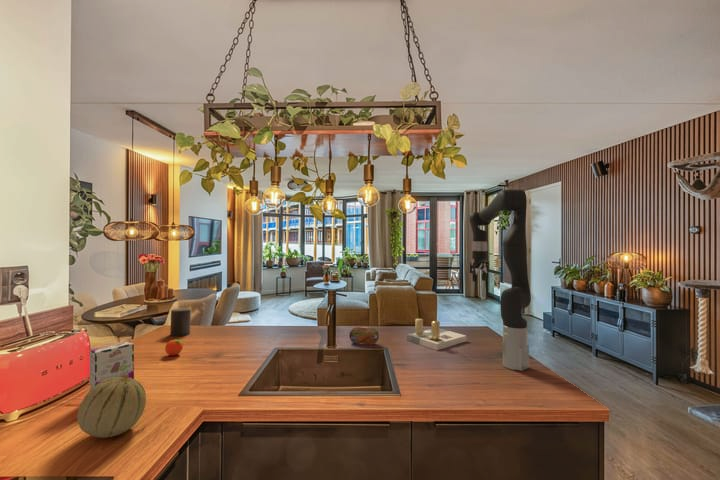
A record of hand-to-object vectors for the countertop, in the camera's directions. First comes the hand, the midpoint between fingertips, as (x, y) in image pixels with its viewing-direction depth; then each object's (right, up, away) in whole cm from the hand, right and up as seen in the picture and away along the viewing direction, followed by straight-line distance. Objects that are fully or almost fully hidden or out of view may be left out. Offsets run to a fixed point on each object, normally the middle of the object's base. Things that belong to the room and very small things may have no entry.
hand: (479, 281), depth 172 cm
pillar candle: (-162, -31, +10) cm, 165 cm away
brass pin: (-25, -32, -6) cm, 41 cm away
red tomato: (-147, -31, -24) cm, 152 cm away
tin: (-61, -32, -4) cm, 69 cm away
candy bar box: (-146, -31, -62) cm, 161 cm away
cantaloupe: (-129, -31, -84) cm, 157 cm away
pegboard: (-22, -32, +2) cm, 39 cm away
